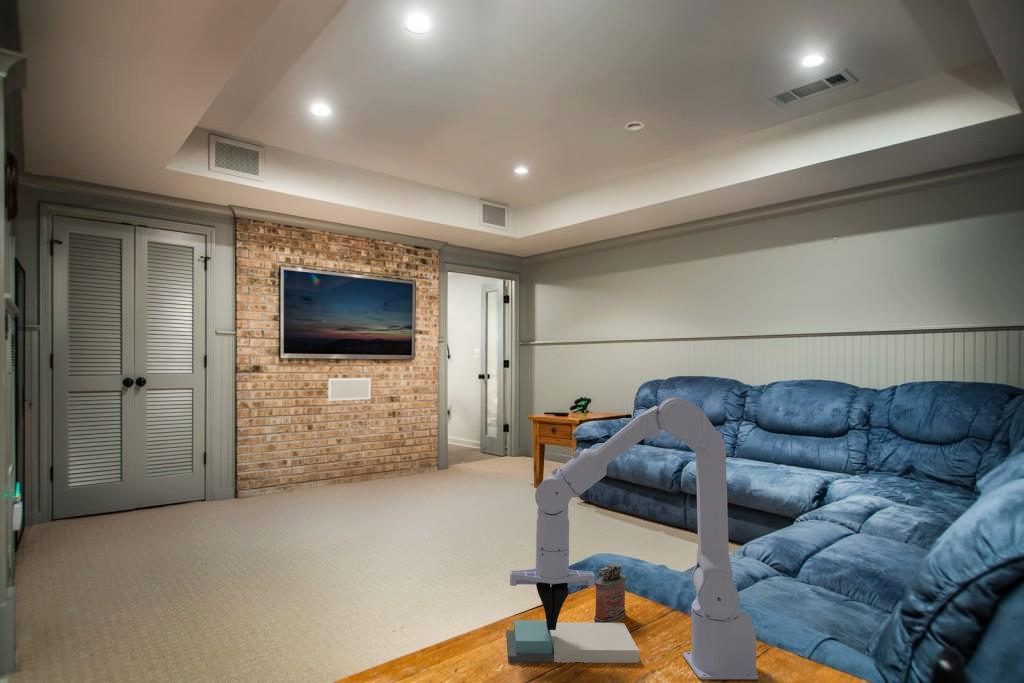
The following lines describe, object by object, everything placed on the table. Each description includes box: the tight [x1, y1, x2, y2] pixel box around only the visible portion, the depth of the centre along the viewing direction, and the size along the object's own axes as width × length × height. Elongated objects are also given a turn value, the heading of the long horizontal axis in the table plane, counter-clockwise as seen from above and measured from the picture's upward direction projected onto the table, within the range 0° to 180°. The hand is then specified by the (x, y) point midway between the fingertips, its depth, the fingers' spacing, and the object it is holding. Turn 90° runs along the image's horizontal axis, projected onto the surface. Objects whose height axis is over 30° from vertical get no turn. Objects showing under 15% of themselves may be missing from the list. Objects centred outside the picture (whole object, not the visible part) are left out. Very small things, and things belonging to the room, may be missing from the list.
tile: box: [513, 619, 552, 654], centre depth 97 cm, size 6×8×2 cm
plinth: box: [550, 621, 640, 664], centre depth 97 cm, size 14×10×2 cm
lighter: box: [593, 563, 627, 623], centre depth 110 cm, size 8×3×10 cm, turn 133°
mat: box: [505, 629, 554, 664], centre depth 96 cm, size 8×10×1 cm
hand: (551, 627), depth 97 cm, fingers closed
